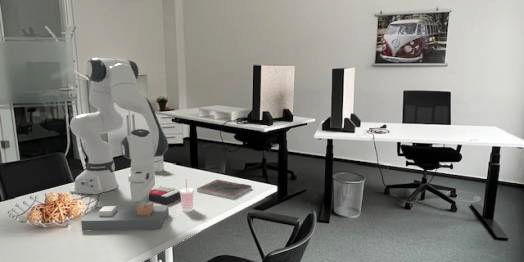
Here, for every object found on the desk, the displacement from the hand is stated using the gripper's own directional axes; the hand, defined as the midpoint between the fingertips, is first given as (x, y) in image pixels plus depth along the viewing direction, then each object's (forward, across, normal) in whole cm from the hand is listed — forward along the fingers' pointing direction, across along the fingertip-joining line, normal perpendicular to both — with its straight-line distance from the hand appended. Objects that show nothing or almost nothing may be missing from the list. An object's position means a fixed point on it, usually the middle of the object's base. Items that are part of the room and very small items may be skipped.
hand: (145, 204), depth 149 cm
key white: (+6, 0, -15) cm, 16 cm away
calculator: (+8, -27, +1) cm, 28 cm away
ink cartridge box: (+8, -72, -15) cm, 74 cm away
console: (+8, 0, -8) cm, 11 cm away
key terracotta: (+4, 0, 0) cm, 4 cm away
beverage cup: (+8, -12, +14) cm, 20 cm away
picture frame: (+8, -36, +29) cm, 47 cm away
